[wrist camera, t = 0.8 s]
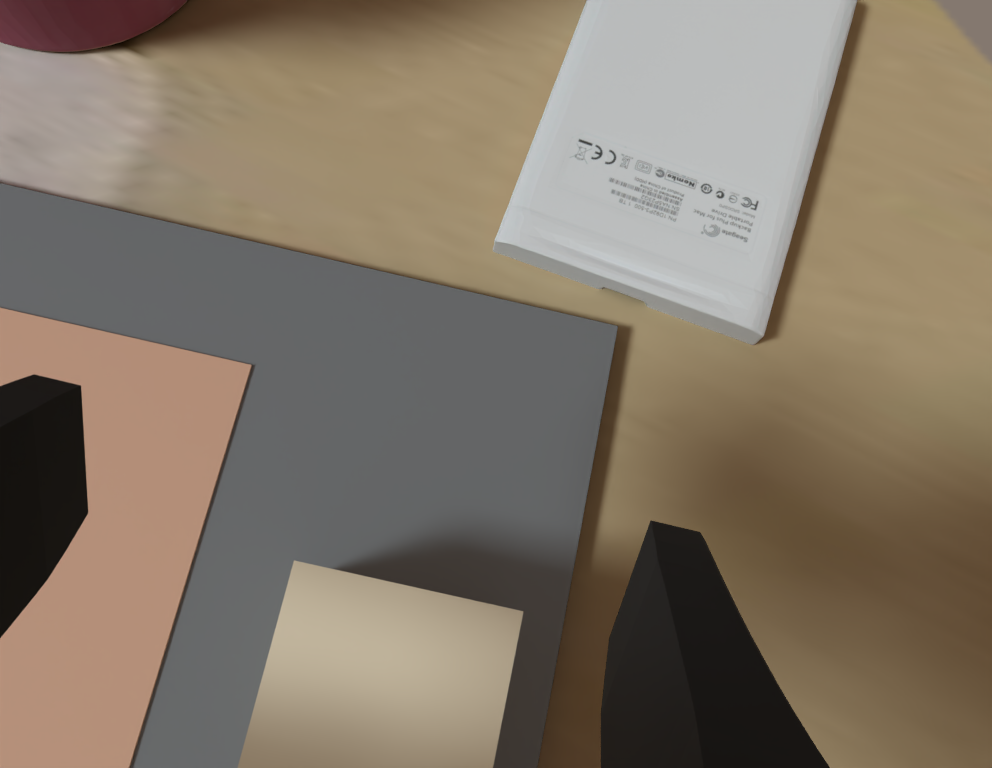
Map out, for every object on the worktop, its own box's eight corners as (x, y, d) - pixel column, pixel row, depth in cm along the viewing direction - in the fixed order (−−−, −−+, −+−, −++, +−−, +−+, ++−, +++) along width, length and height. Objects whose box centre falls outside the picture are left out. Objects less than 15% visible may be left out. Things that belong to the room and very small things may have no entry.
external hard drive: (840, 25, 31) (749, 352, 28) (610, -56, 31) (489, 259, 28) (862, -8, 30) (769, 334, 26) (621, -93, 30) (493, 235, 26)
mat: (463, 1148, 21) (465, 1165, 20) (-518, 946, 20) (-549, 956, 20) (613, 332, 27) (618, 324, 26) (-146, 157, 26) (-160, 144, 25)
